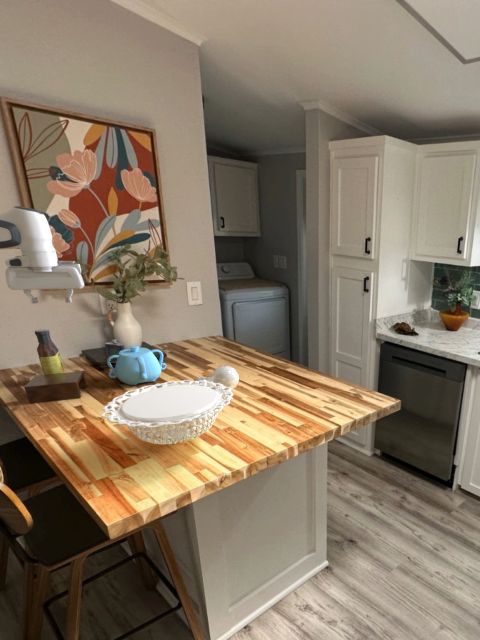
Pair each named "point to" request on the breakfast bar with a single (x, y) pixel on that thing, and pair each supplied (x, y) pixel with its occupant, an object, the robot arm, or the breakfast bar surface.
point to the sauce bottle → (48, 353)
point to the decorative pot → (136, 365)
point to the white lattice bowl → (169, 410)
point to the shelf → (55, 387)
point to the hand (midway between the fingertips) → (52, 302)
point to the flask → (114, 348)
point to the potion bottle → (223, 377)
